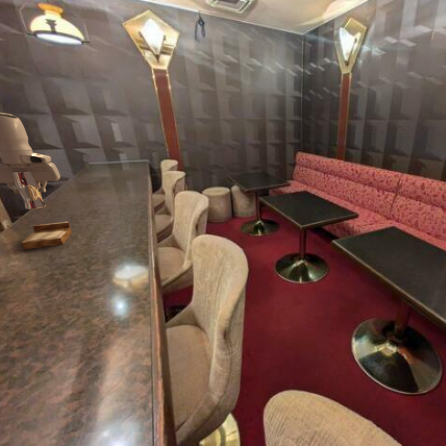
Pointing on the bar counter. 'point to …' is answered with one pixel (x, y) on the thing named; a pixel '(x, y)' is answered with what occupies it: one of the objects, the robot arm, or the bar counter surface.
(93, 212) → the bar counter surface
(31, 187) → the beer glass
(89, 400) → the bar counter surface
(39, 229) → the shallow wooden tray
